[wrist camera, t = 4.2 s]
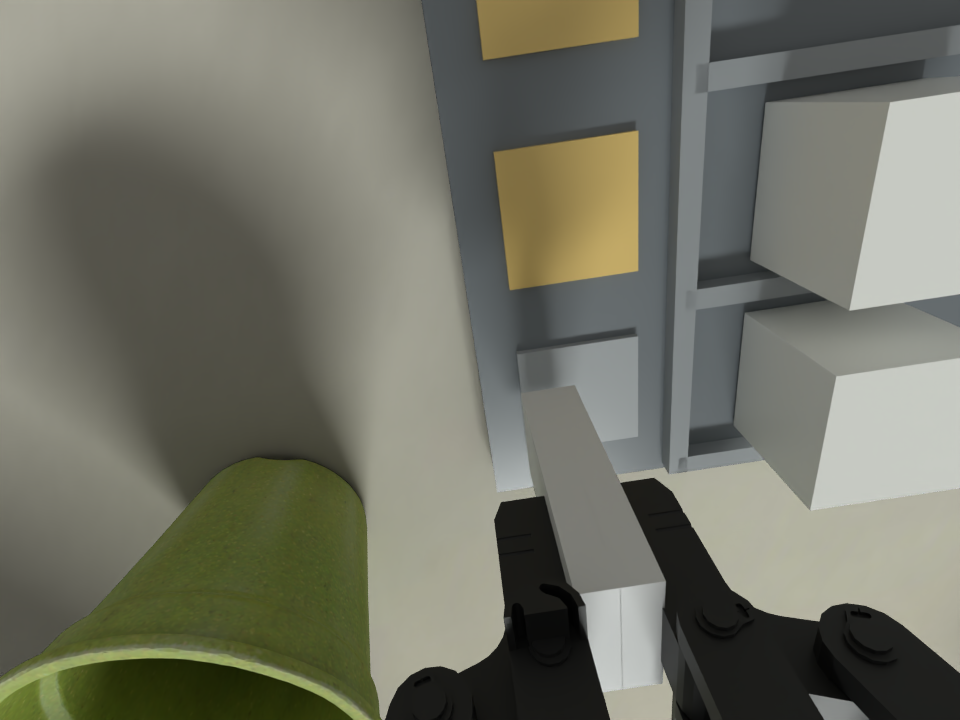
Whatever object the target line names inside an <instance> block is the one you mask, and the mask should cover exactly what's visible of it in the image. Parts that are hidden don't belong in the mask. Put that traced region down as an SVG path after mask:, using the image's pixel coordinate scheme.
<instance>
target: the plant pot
mask: <svg viewBox="0 0 960 720" xmlns="http://www.w3.org/2000/svg"><path fill="white" fill-rule="evenodd" d="M0 720H382V719H381V718H380V714H379V700H378V695H377V691H376V687H375V684H374V682H373V679H372V677H371V674H370V644H369V612H368V564H367V524H366V516H365V512H364V508H363V506H362V503H361V501H360V499H359V497H358V496H357V494H356V493H355V491H354V490H353V489H352V488H351V487H350V485H349V484H348V483H347V482H345V481H344V480H343V479H342V478H341V477H339V476H338V475H337V474H335V473H334V472H332V471H330V470H329V469H327V468H325V467H323V466H321V465H318V464H316V463H314V462H310V461H307V460H303V459H298V460H271V459H264V458H259V457H256V458H251V459H247V460H243V461H240V462H238V463H235V464H233V465H231V466H229V467H227V468H225V469H224V470H222V471H221V472H219V473H218V474H217V475H216V476H215V477H213V478H212V479H211V480H210V481H209V483H208V484H207V485H206V486H205V487H204V488H203V489H202V491H201V492H200V493H199V494H198V495H197V496H196V497H195V498H194V499H193V500H192V502H191V503H190V504H189V505H188V506H187V507H186V508H185V510H184V511H183V512H182V513H181V514H180V515H179V517H178V518H177V519H176V520H175V521H174V522H173V523H172V525H171V526H170V527H169V528H168V529H167V530H166V531H165V533H164V534H163V535H162V536H161V537H160V538H159V539H158V540H157V542H156V543H155V544H154V545H153V546H152V547H151V548H150V549H149V550H148V552H147V553H146V554H145V555H144V556H143V557H142V558H141V559H140V560H139V561H138V563H137V564H136V565H135V566H134V567H133V568H132V569H131V570H130V571H129V572H128V574H127V575H126V576H125V577H124V578H123V579H122V580H121V581H120V582H119V584H118V585H117V586H116V587H115V588H114V589H113V590H112V591H111V592H110V593H109V594H108V595H107V596H106V598H105V599H104V600H103V601H102V602H101V603H100V604H99V605H98V606H97V607H96V608H95V609H94V610H93V611H92V613H91V614H90V615H88V616H86V617H85V618H83V619H81V620H79V621H78V622H76V623H74V624H73V625H72V626H70V627H69V628H67V629H66V630H65V631H64V632H62V633H61V634H60V635H59V636H58V637H57V638H56V639H55V640H54V641H53V642H52V643H51V644H50V645H49V646H48V647H47V648H46V649H45V650H44V651H43V652H42V653H41V654H40V655H38V656H35V657H33V658H31V659H29V660H27V661H25V662H23V663H22V664H20V665H18V666H16V667H15V668H13V669H11V670H10V671H9V672H7V673H6V674H4V675H3V676H2V677H0Z"/></svg>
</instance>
